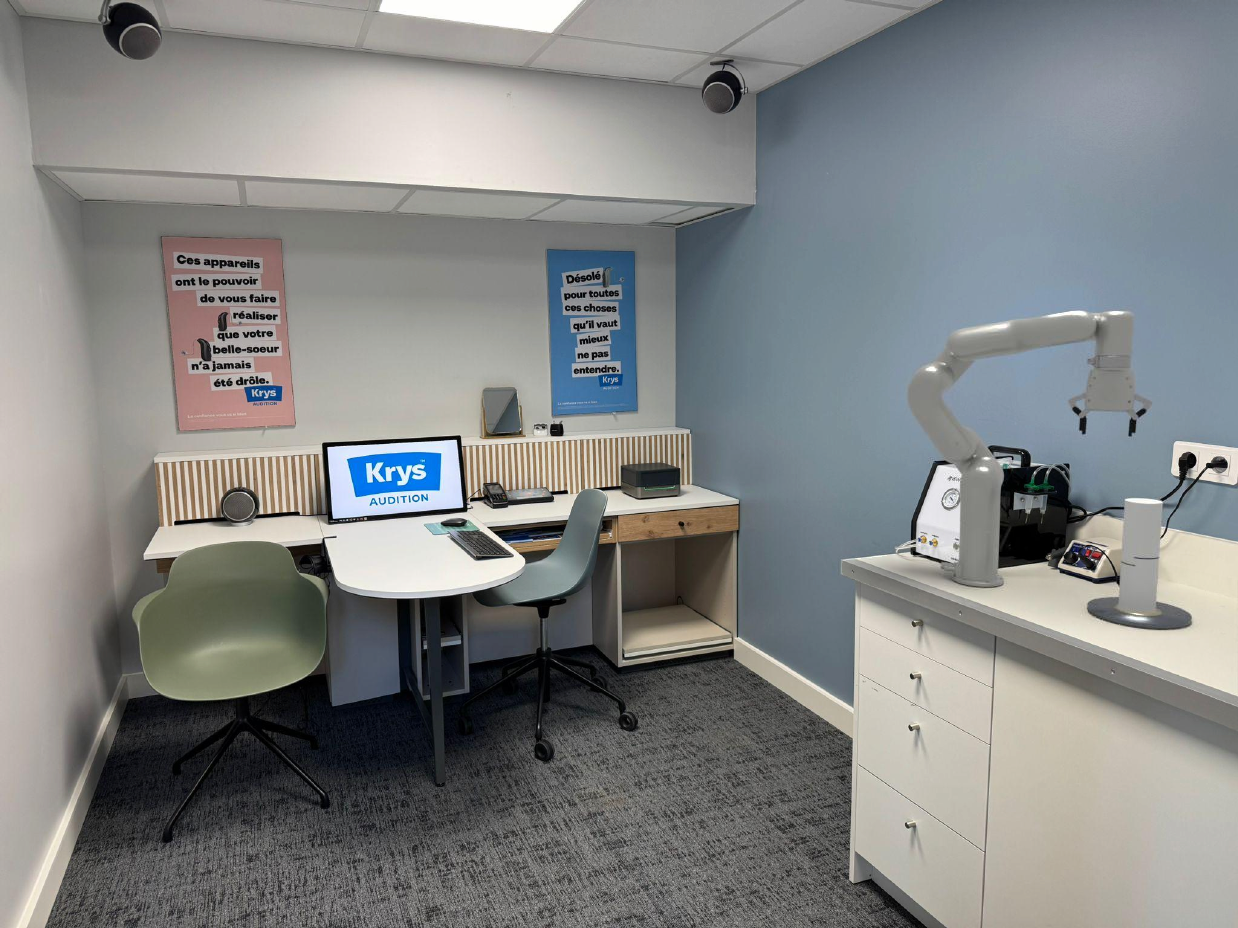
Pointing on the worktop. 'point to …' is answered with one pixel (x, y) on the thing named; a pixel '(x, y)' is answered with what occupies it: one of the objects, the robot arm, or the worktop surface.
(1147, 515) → the cylindrical container
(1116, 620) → the plate
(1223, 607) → the worktop surface
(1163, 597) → the worktop surface
